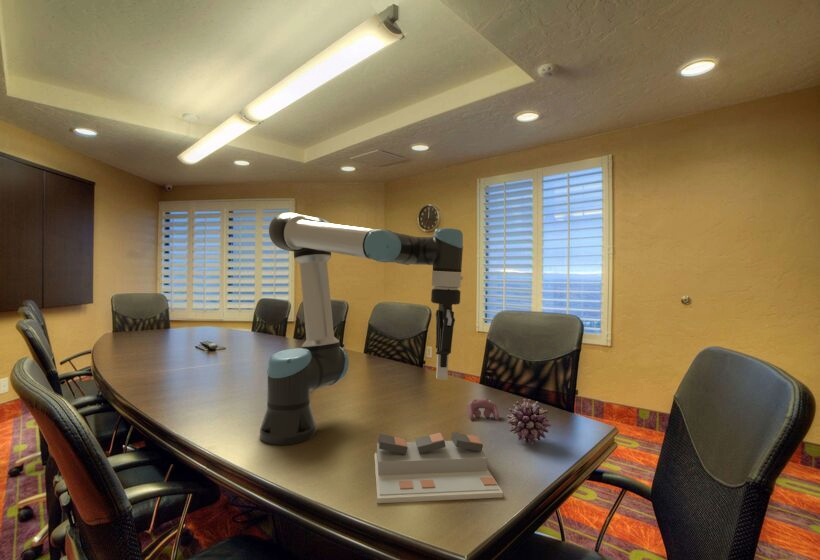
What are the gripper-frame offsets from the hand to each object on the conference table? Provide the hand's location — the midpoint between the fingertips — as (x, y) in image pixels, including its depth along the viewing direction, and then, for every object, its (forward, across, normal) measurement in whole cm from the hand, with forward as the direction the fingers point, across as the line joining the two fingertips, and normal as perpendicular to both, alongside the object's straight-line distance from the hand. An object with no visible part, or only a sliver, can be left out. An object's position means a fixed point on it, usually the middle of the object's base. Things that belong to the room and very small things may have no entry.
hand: (441, 378), depth 101 cm
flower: (+19, +4, -26) cm, 33 cm away
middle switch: (+13, -8, +4) cm, 16 cm away
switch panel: (+19, -12, +4) cm, 23 cm away
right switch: (+13, -8, -5) cm, 16 cm away
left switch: (+14, -8, +13) cm, 20 cm away
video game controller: (+19, +23, -19) cm, 36 cm away
